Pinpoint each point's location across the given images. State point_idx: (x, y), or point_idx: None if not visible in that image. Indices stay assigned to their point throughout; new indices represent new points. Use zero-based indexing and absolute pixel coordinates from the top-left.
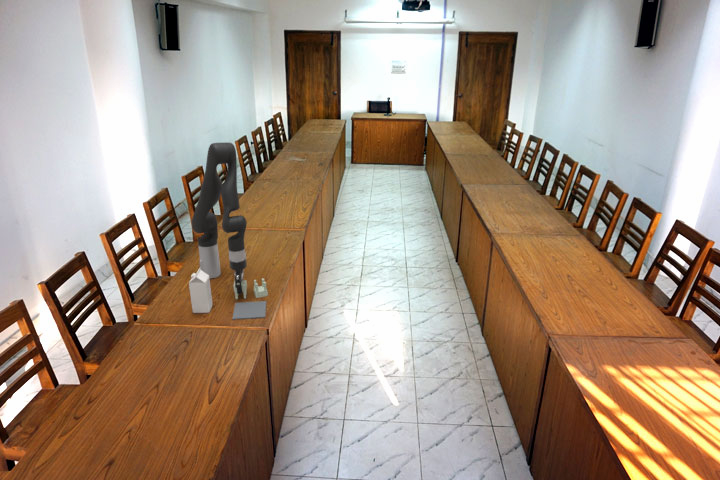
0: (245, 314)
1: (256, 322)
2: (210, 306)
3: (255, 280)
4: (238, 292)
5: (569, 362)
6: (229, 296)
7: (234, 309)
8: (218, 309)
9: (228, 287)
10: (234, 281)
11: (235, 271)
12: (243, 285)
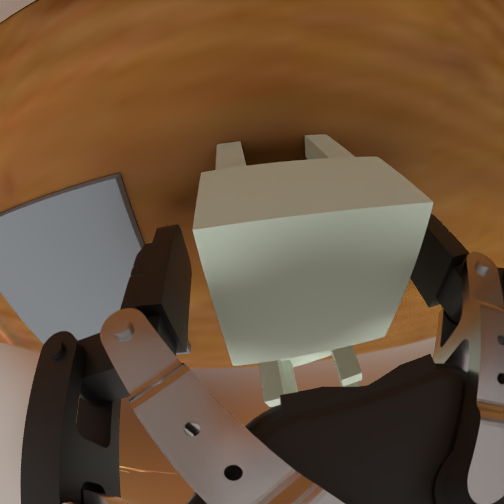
0: (18, 286)
1: (14, 325)
2: (6, 7)
3: (347, 382)
4: (137, 265)
5: (139, 469)
6: (282, 67)
7: (25, 209)
8: (21, 67)
9: (451, 62)
10: (409, 205)
11: (460, 497)
12: (231, 351)
